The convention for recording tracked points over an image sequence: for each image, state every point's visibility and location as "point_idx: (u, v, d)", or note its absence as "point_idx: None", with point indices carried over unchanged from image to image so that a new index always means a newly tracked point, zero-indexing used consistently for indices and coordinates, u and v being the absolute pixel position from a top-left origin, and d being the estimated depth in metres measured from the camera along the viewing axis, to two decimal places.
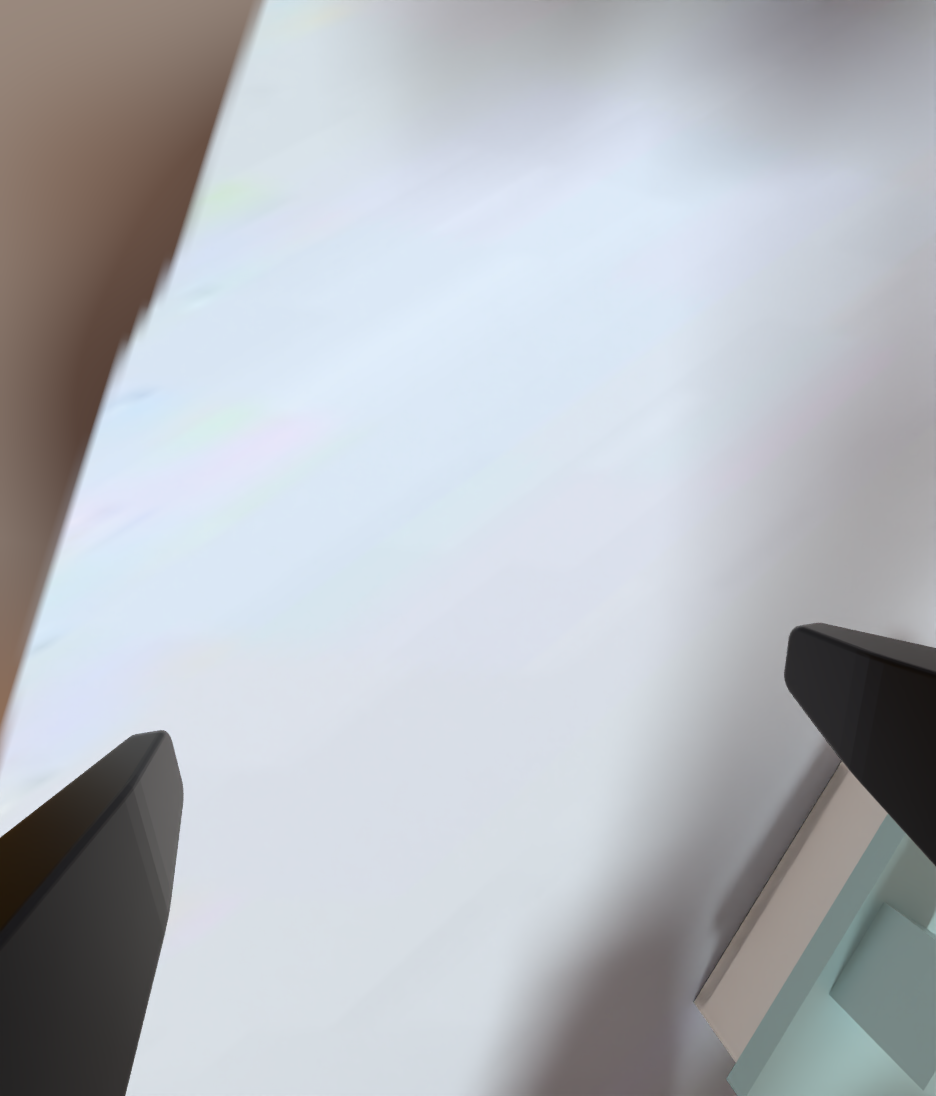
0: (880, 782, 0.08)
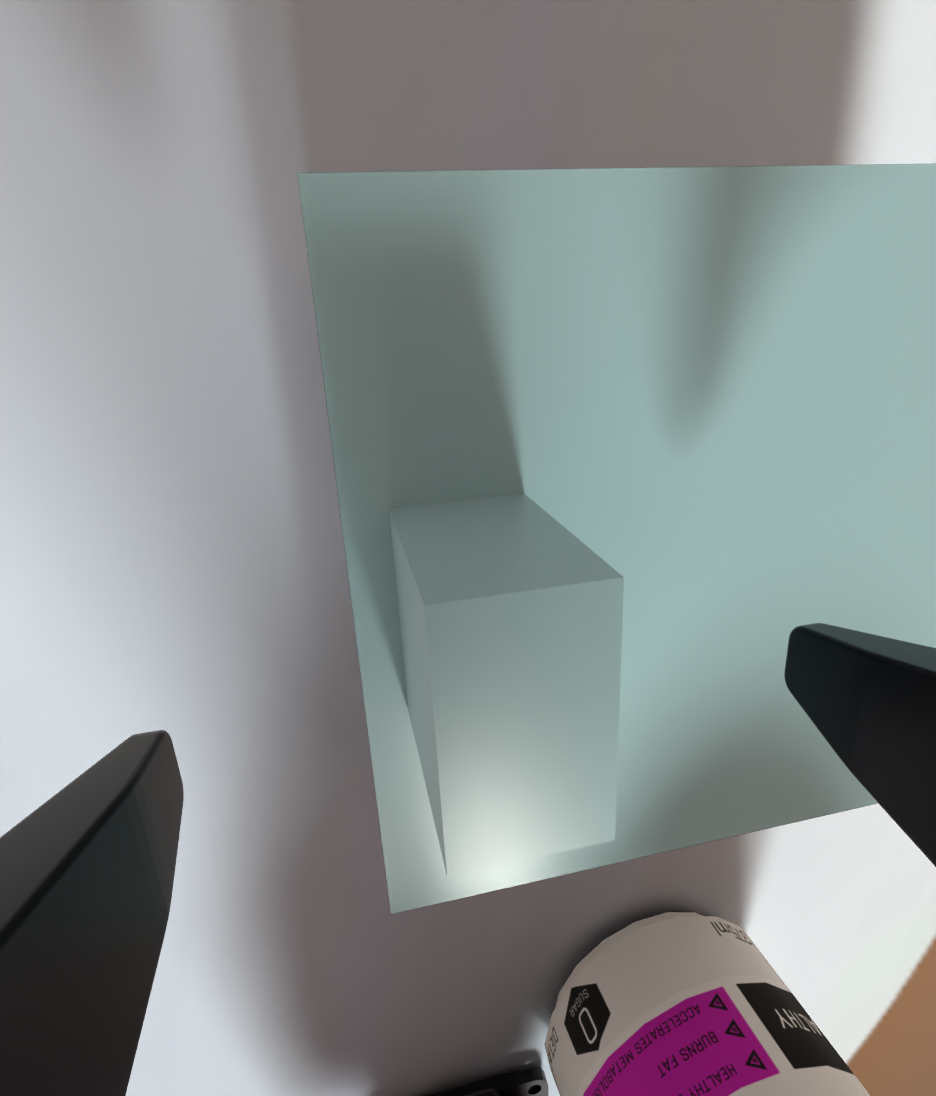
0: (880, 782, 0.08)
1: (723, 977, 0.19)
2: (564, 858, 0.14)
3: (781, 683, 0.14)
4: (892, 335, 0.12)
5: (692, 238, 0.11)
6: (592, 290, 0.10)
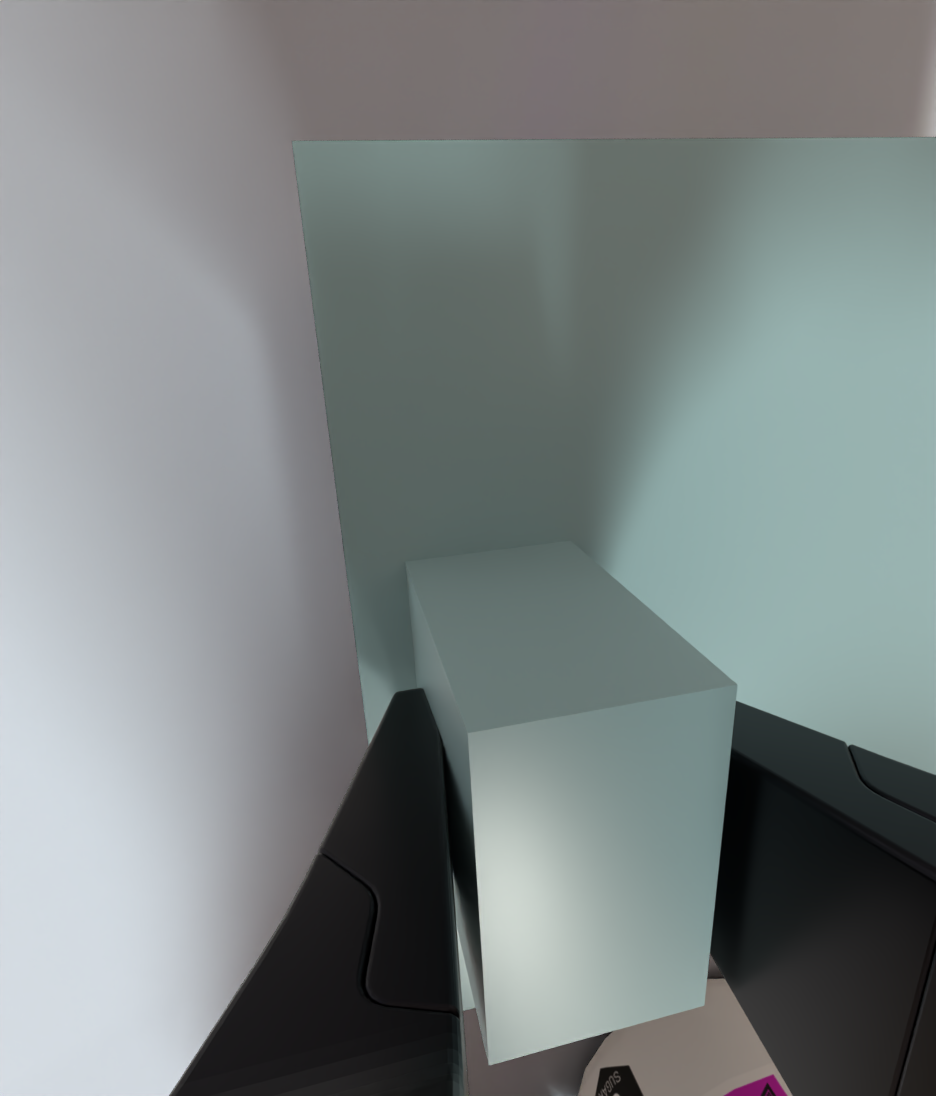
0: None
1: (773, 1063, 0.17)
2: None
3: None
4: None
5: (783, 227, 0.08)
6: (660, 292, 0.08)
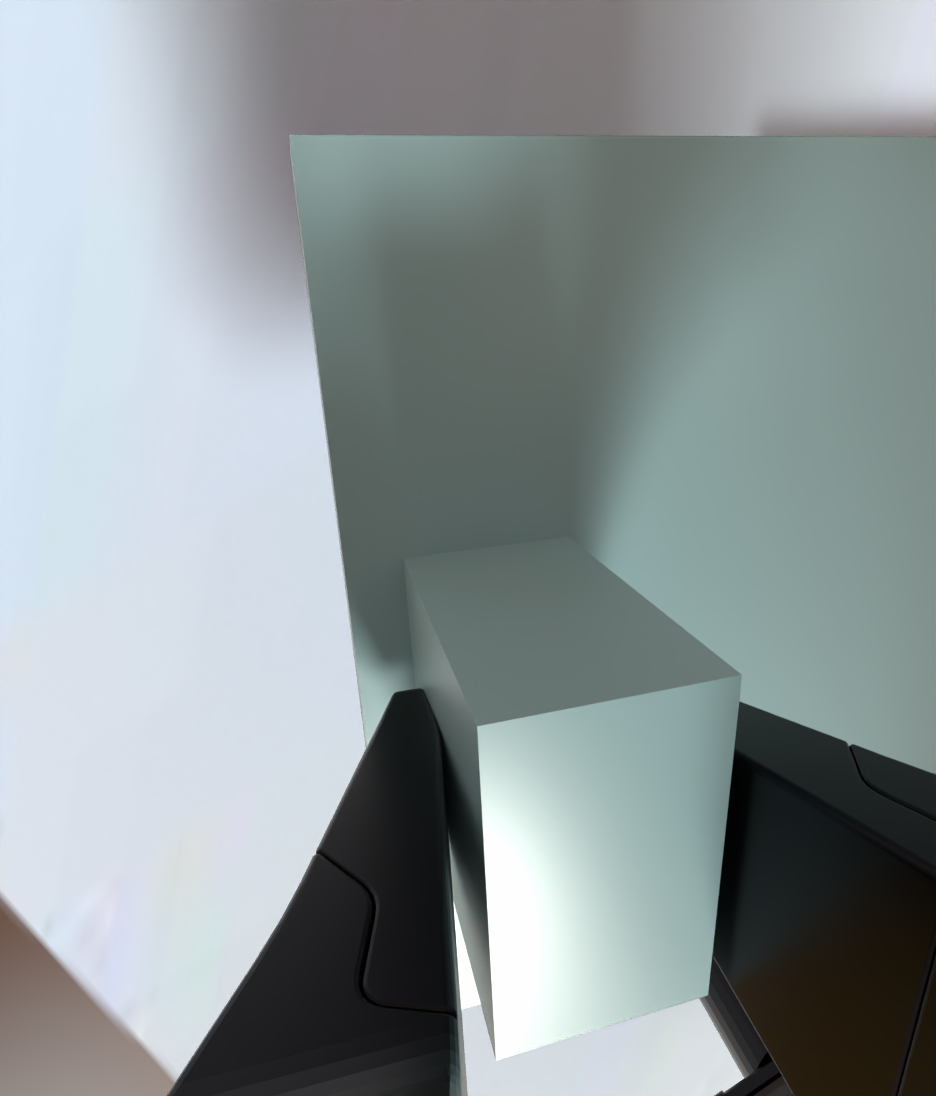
0: None
1: None
2: None
3: None
4: None
5: (775, 225, 0.09)
6: (655, 288, 0.08)
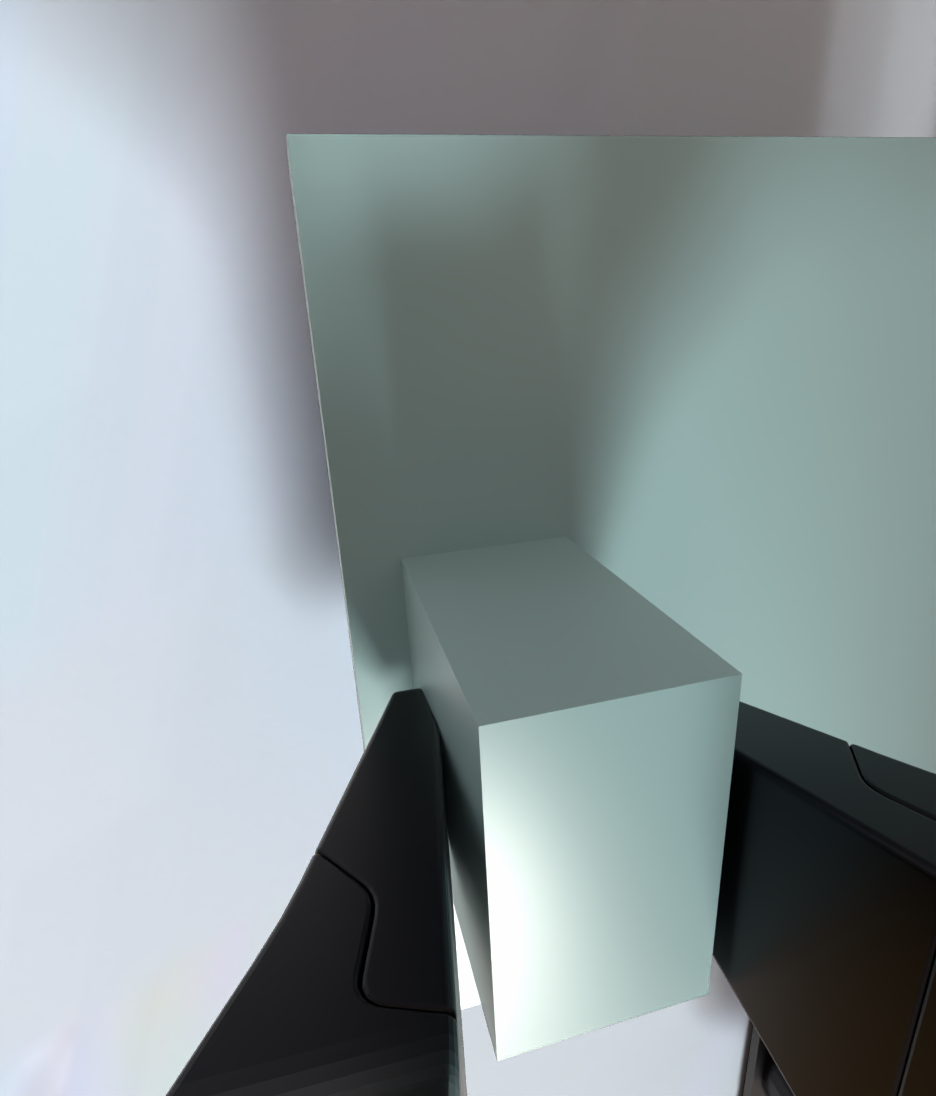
0: None
1: None
2: None
3: (848, 742, 0.12)
4: None
5: (772, 225, 0.09)
6: (652, 288, 0.08)
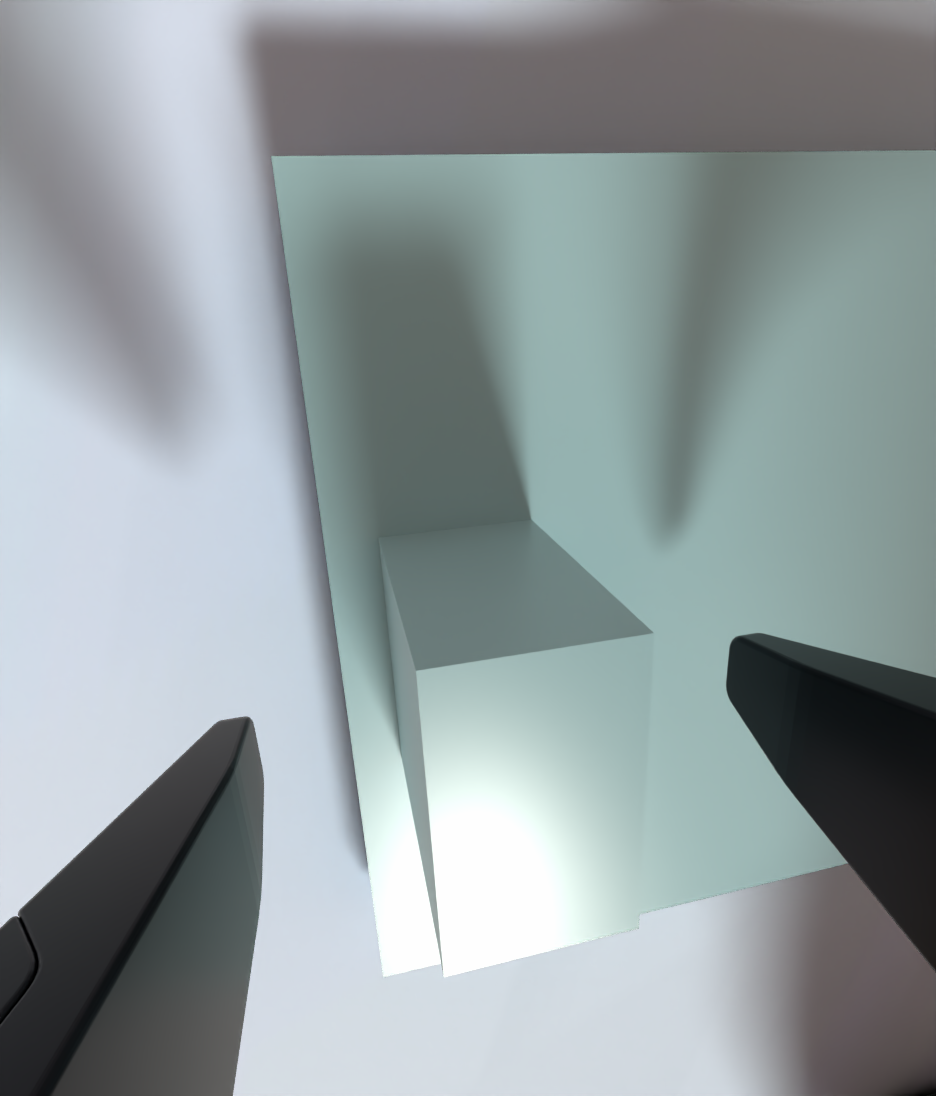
0: (812, 797, 0.08)
1: None
2: None
3: None
4: None
5: (722, 233, 0.09)
6: (609, 292, 0.09)
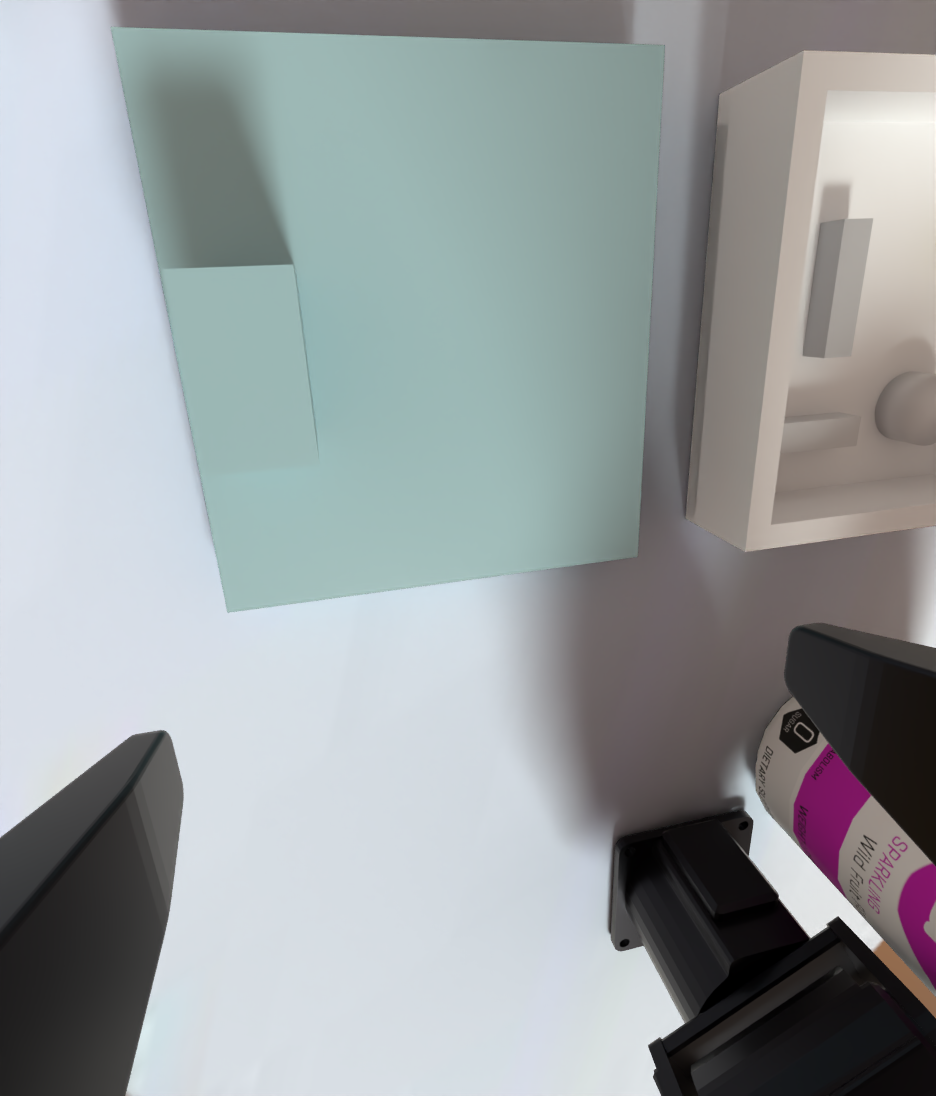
0: (880, 782, 0.08)
1: None
2: (361, 579, 0.19)
3: (518, 446, 0.19)
4: (564, 170, 0.17)
5: (400, 88, 0.15)
6: (330, 122, 0.15)
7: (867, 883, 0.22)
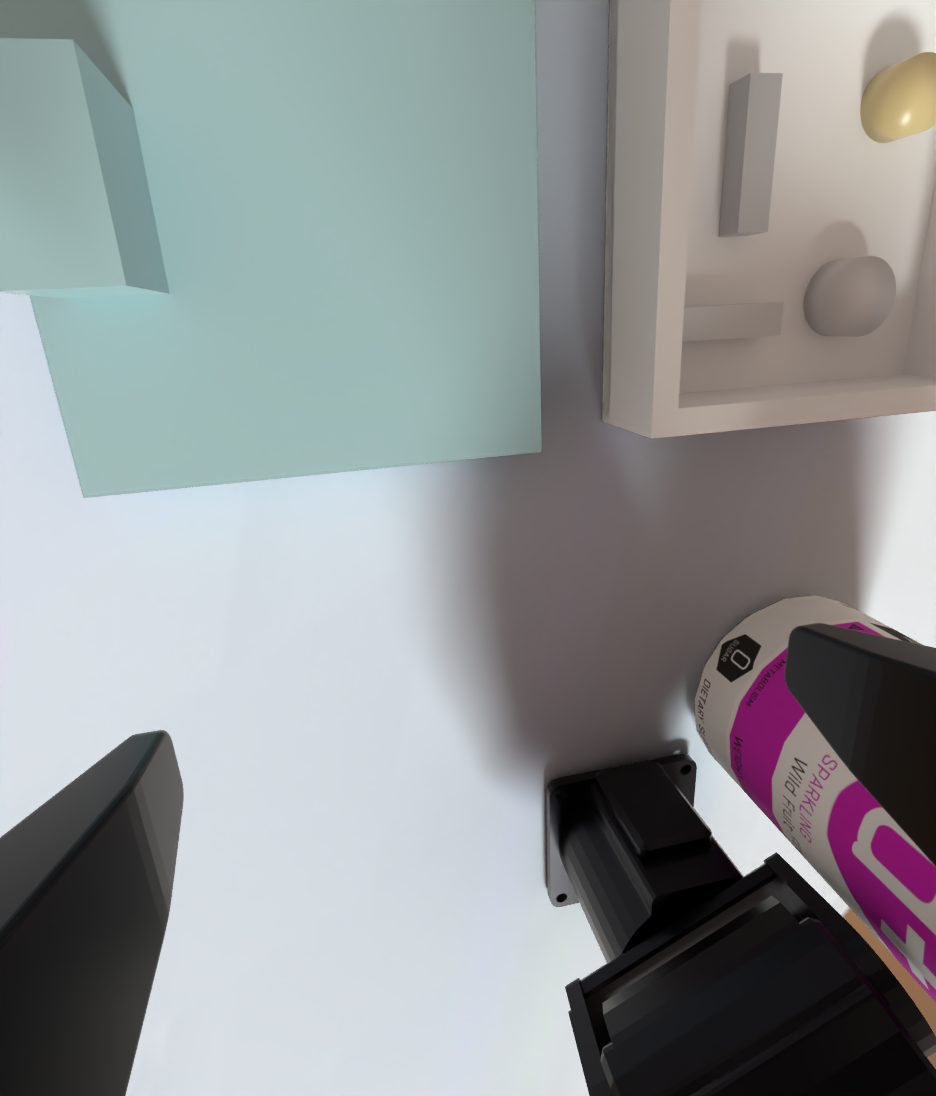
0: (880, 782, 0.08)
1: (857, 618, 0.23)
2: (231, 465, 0.18)
3: (398, 319, 0.18)
4: (428, 1, 0.16)
5: None
6: None
7: (798, 810, 0.20)
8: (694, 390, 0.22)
